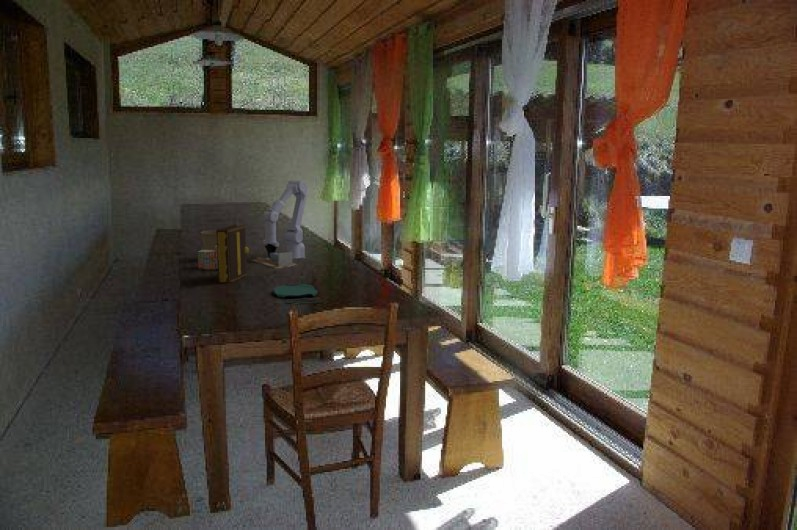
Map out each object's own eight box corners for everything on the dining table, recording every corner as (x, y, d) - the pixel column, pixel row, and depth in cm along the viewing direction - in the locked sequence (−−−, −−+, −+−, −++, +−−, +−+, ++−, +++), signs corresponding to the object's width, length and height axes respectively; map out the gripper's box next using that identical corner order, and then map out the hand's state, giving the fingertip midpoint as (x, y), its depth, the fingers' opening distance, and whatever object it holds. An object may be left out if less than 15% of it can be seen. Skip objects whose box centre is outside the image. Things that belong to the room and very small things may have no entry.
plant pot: (225, 263, 347) (224, 234, 344) (198, 262, 347) (196, 233, 344) (233, 258, 361) (232, 230, 358) (207, 257, 362) (205, 229, 359)
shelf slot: (273, 258, 361) (273, 245, 360) (297, 265, 342) (297, 251, 340) (250, 261, 352) (250, 247, 351) (274, 268, 333) (273, 254, 331)
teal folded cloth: (313, 287, 293) (313, 282, 292) (327, 304, 265) (326, 299, 264) (269, 290, 287) (269, 285, 286) (278, 308, 259) (278, 302, 258)
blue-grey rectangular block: (275, 261, 349) (275, 252, 348) (284, 264, 341) (284, 255, 340) (270, 262, 347) (269, 253, 346) (279, 264, 339) (278, 255, 338)
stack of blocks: (198, 269, 330) (196, 245, 328) (202, 267, 336) (201, 243, 334) (238, 270, 329) (237, 246, 326) (242, 268, 335) (241, 244, 333)
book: (231, 283, 298) (229, 230, 293) (214, 282, 299) (212, 229, 295) (251, 274, 319) (250, 224, 314) (235, 273, 321) (233, 223, 316)
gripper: (257, 232, 349) (258, 256, 352) (270, 235, 338) (271, 260, 341) (269, 231, 353) (269, 255, 356) (282, 234, 342) (283, 259, 345)
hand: (271, 258), depth 349 cm, fingers closed
